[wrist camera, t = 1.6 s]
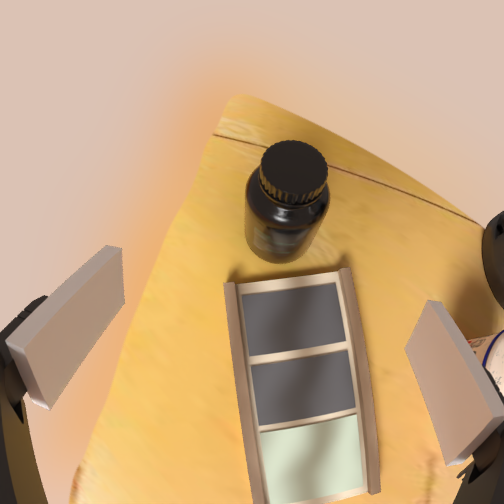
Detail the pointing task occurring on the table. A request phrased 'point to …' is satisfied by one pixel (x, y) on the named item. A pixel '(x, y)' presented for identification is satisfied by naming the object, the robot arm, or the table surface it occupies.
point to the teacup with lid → (491, 355)
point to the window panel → (303, 389)
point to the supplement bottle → (286, 201)
